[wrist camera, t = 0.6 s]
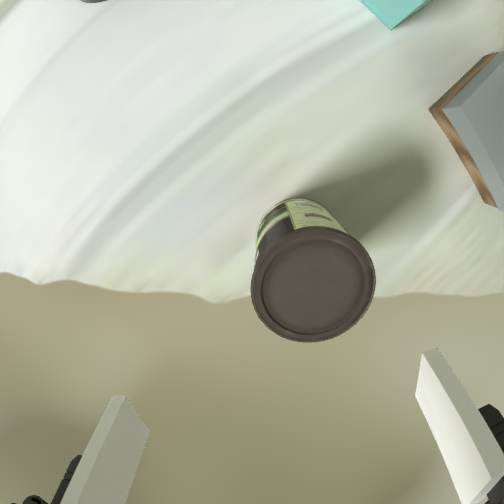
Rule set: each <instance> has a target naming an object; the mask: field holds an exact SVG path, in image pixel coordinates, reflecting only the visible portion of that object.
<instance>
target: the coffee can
mask: <svg viewBox="0 0 504 504" xmlns="http://www.w3.org/2000/svg"><path fill="white" fill-rule="evenodd" d="M375 284H376V276H375V269H374V265H373V262H372V260H371V258H370V256H369V254H368V252H367V251H366V250H365V248H364V247H363V246H362V245H361V244H360V243H359V242H358V241H357V240H356V239H355V238H353V237H352V236H351V235H350V234H349V233H348V232H347V231H346V230H345V229H344V228H343V227H342V226H341V225H340V224H339V223H338V222H337V221H336V220H335V219H334V217H333V216H332V215H331V214H330V213H329V212H328V210H327V209H325V208H324V207H323V206H322V205H320V204H319V203H316V202H314V201H311V200H307V199H289V200H285V201H282V202H280V203H278V204H276V205H275V206H273V207H272V208H271V209H270V210H269V211H268V212H267V213H266V214H265V215H264V216H263V218H262V219H261V221H260V223H259V225H258V228H257V233H256V253H255V263H254V272H253V275H252V280H251V298H252V303H253V306H254V309H255V311H256V313H257V315H258V317H259V318H260V320H261V321H262V322H263V323H264V324H265V325H266V327H268V328H269V329H270V330H271V331H273V332H274V333H276V334H277V335H279V336H281V337H283V338H286V339H289V340H292V341H297V342H305V343H306V342H307V343H309V342H310V343H311V342H320V341H325V340H328V339H332V338H334V337H337V336H339V335H341V334H343V333H344V332H346V331H347V330H349V329H350V328H351V327H353V326H354V325H355V324H356V323H357V322H358V321H359V320H360V318H362V317H363V315H364V314H365V313H366V311H367V309H368V308H369V306H370V303H371V301H372V299H373V295H374V291H375Z"/></svg>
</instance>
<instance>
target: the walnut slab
mask: <svg viewBox="0 0 504 504" xmlns="http://www.w3.org/2000/svg"><path fill="white" fill-rule="evenodd" d="M497 53H498V52H496V53H493V54H489V55H486V56H484V57H483V58H482V59H481V60H480V61H479V62H478V63H476V64H475V65H474V66H473V67H472V68H471V69H470V70H469V71H468V72H467V73H466V74H465V75H464V76H463V77H462V78H461V79H460V80H459V81H458V82H457V83H456V84H454V85H453V86H452V87H451V88H450V89H449V90H448V91H447V92H446V93H445V94H444V95H443V96H442V97H441V98H440V99H439V100H438V101H437V102H435V103H434V104H433V105H432V106H431V107H430V108H429V109H428V110H429V111H430V113H431V114H432V116H433V117H434V118H435V120H436V121H437V123H438V124H439V126H440V127H441V129H442V130H443V132H444V133H445V135H446V136H447V138H448V139H449V141H450V142H451V144H452V146H453V147H454V149H455V150H456V152H457V154H458V155H459V157H460V159H461V160H462V162H463V164H464V166H465V167H466V169H467V171H468V173H469V175H470V176H471V178H472V180H473V182H474V184H475V186H476V188H477V189H478V191H479V193H480V195H481V197H482V199H483V201H484V203H486V204H489V205H492V206H494V207H497V205H496V203H495V201H494V199H493V197H492V194H491V192H490V190H489V188H488V186H487V184H486V182H485V180H484V178H483V176H482V175H481V173H480V171H479V169H478V167H477V165H476V163H475V162H474V160H473V158H472V156H471V155H470V153H469V151H468V149H467V148H466V146H465V144H464V143H463V141H462V139H461V138H460V136H459V135H458V133H457V131H456V130H455V128H454V127H453V125H452V124H451V122H450V121H449V119H448V118H447V116H446V115H445V113H444V112H443V110H442V109H443V108H444V107H445V106H446V105H447V104H448V103H449V102H450V101H451V100H452V99H453V98H454V97H455V96H456V95H457V94H458V93H459V92H460V91H461V90H462V89H463V88H464V87H465V86H466V85H467V84H468V83H469V82H470V81H471V80H472V79H473V78H474V77H475V76H476V75H477V74H478V73H479V72H480V71H481V70H482V69H483V68H484V67H485V66H486V65H487V64H488V63H489V62H490V61H491V60H492V59H493V58H494V57H495V56H496V54H497ZM497 208H498V207H497Z"/></svg>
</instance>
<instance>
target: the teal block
mask: <svg viewBox="0 0 504 504" xmlns="http://www.w3.org/2000/svg"><path fill="white" fill-rule="evenodd" d="M359 1H360V2H361V3H362V4H363V5H364V6H365V7H367V8H368V9H369V10H370V11H371V12H372V13H373V14H374V15H375V16H376V17H377V18H378V19H379V20H380V21H381V22H382V23H383V24H384V25H385V26H386V27H387V28H388V29H389V30H391V29H393V28H394V27H396V26H397V25H398V24H400V23H401V22H403V21H404V20H405V19H407V18H408V17H410V16H411V15H413V14H414V13H416V12H417V11H418V10H420V9H421V8H423V7H424V6H425V5H427V4H428V3H429V2H431V1H432V0H359Z"/></svg>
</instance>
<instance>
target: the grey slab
mask: <svg viewBox="0 0 504 504" xmlns="http://www.w3.org/2000/svg"><path fill="white" fill-rule="evenodd" d="M442 110H443V112H444V113H445V115H446V116H447V118H448V119H449V121H450V122H451V124H452V125H453V127H454V128H455V130H456V131H457V133H458V135H459V136H460V138H461V139H462V141H463V143H464V144H465V146H466V148H467V149H468V151H469V153H470V155H471V156H472V158H473V160H474V162H475V163H476V165H477V167H478V169H479V171H480V173H481V175H482V176H483V178H484V180H485V182H486V184H487V186H488V188H489V190H490V192H491V194H492V197H493V199H494V201H495V203H496V205H497V207H498V210H501V211H503V212H504V52H500V53H497V54H496V56H495V57H494V58H493V59H492V60H491V61H490V62H489V63H488V64H487V65H486V66H485V67H484V68H483V69H482V70H481V71H480V72H479V73H478V74H477V75H476V76H475V77H474V78H473V79H472V80H471V81H470V82H469V83H468V84H467V85H466V86H465V87H464V88H463V89H462V90H461V91H460V92H459V93H458V94H457V95H456V96H455V97H454V98H453V99H452V100H451V101H450V102H449V103H448V104H447V105H446V106H445V107H444V108H443V109H442Z"/></svg>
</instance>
